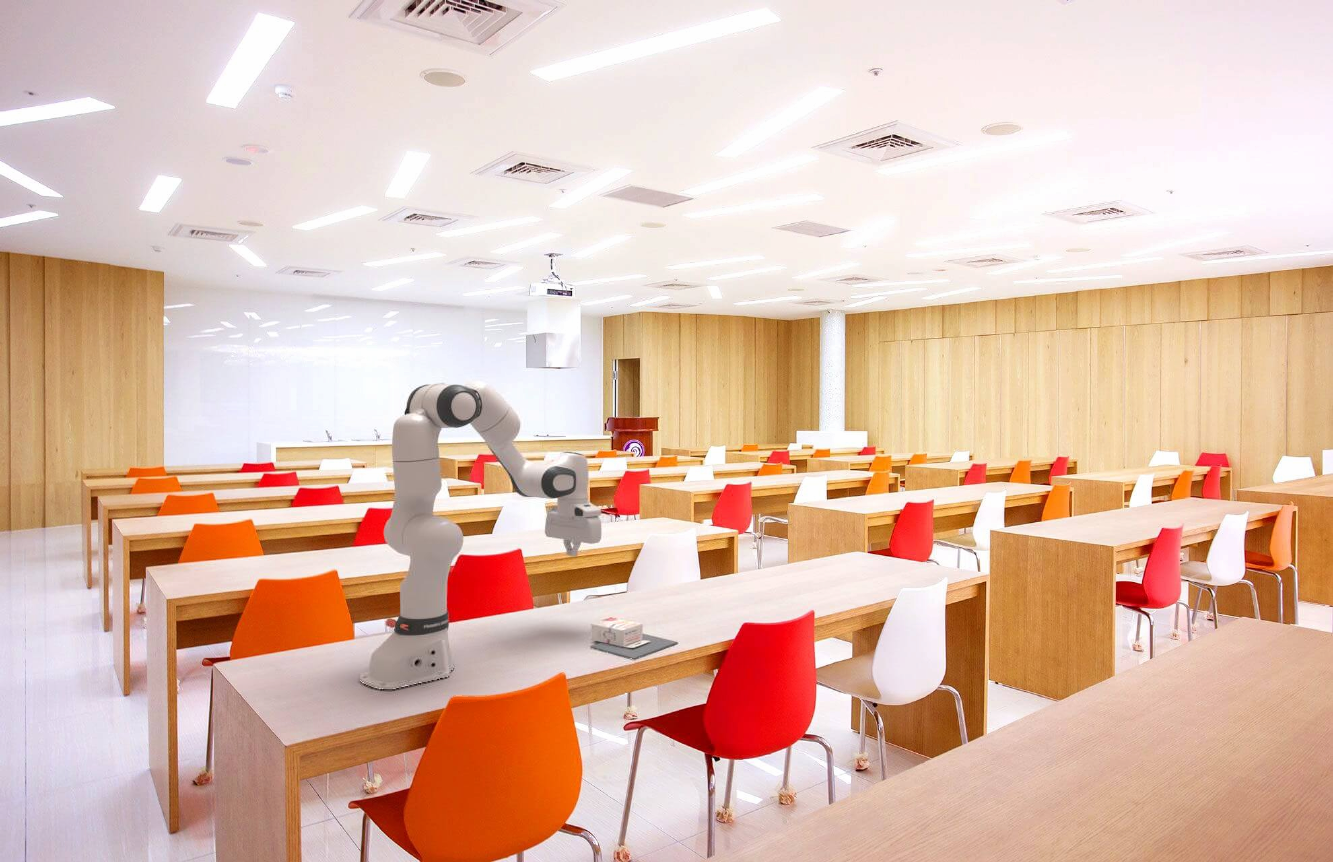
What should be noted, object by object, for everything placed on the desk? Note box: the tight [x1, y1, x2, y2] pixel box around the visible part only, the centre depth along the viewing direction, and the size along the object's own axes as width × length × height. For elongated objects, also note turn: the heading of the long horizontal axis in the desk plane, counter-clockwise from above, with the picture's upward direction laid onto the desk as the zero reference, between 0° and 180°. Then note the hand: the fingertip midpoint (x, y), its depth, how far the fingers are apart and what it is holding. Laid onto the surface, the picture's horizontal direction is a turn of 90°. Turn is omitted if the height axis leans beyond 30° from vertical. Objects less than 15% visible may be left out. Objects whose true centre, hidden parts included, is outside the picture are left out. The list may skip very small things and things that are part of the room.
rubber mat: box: [589, 632, 679, 660], centre depth 222 cm, size 18×16×1 cm
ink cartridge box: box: [590, 617, 650, 648], centre depth 224 cm, size 9×5×15 cm
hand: (571, 555), depth 235 cm, fingers closed
